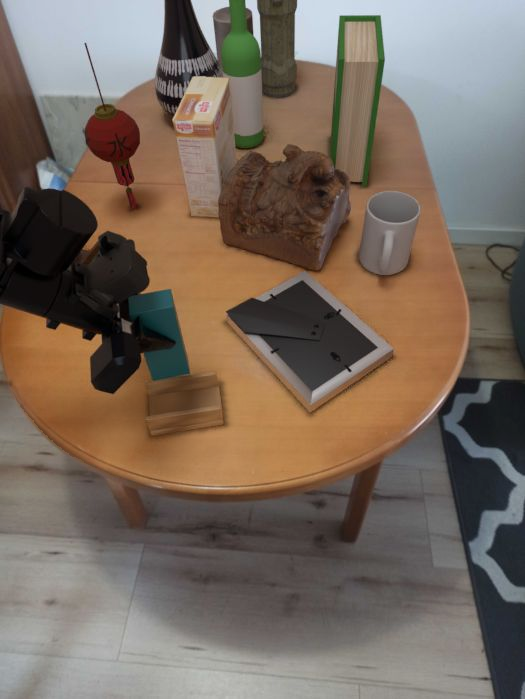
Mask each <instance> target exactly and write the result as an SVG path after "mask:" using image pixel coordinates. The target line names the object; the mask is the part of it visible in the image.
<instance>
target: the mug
mask: <svg viewBox="0 0 525 699" xmlns="http://www.w3.org/2000/svg"><path fill="white" fill-rule="evenodd" d="M420 216H421V205H420V203H419V201H417V199H416V198H415V197H413V196H411V194H408V193H406V192H403V191H402V192H401V191H399V190H397V191H396V190H384V191H381V192H377V193H375V194H373V195H372V196H370V198H369V199H368V200H367V203H366V205H365V211H364V218H363V224H362V232H361V239H360V243H359V244H360V245H359V250H358V260H359V263H360V264H361V266H362V267H363V268H364V269H365V270H366V271H368V272H371V273H372V274H375V275H380V276H392V275H395V274H398V273H400V272H402V271H403V270H404V269H405V268H406V267H407V266H408V263H409V260H410V255H411V252H412V246H413V243H414V239H415V235H416V231H417V227H418V224H419V220H420Z"/></svg>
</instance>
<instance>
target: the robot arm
mask: <svg viewBox="0 0 525 699" xmlns="http://www.w3.org/2000/svg"><path fill="white" fill-rule="evenodd" d="M98 226H99V224H98V219H97V216H96V215H95V213H94V212H93V210H92V209H91V208H90V206H88V204H86V202H84V201H83V200H82V199H80V198H79V197H78V196H76V195H75V194H73V193H71V192H70V191H67V190H65V189H61V190H60V189H56V188H49V187H48V188H43V189H41V190H39V191H38V190H35V189H34V188H32V187H29V186H24V187H23V188H22V191H21V192H20V193H19V196H18V199H17V203H16V205H15V207H14V209H13V210H12V212H11V211H9V210H7V209H6V210H5V209H4V210H3V209H2V210H0V305H2V306H6V307H8V308H11V309H14V310H17V311H21V312H23V313H27V314H30V315H33V316H37V317H39V318H43V319H45V327H46V329H50V330H54V331H56V330H57V329H58V327H59V326H60V325H61V324H62V325H65V326H67V327H70V328H74V329H77V330H80V331H81V334H82V335H81V337H82V339H83V340H86V341H90V342H92V341H93V339H95V337H96V336H97V335H98V336H100V338H101V344H100V345H99V346H98V348H96V350H95V351H94V352H93V353H92V354H91V355H90V356H89V365H90V366H89V368H90V369H89V370H90V383H91V385H92V387H93V388H94V390H96V391H99V392H101V393H106V394H109V395H114V394H116V392H117V391H118V390H119V389H120V388H121V387H122V386H123V385H124V384H126V382H127V381H128V380H129V379H130V378H131V377H132V376H133V375H134V374H135V372H137V371H138V370H139V369H140V367H141V364H142V354H143V353H146V352H153V351H159V350H165V349H171V348H173V347H174V346H175V345H176V341H174V340H172V339H171V338H169V337H167V336H164V335H162V334H160V333H157V332H155V331H153V330H150V329H148V328H145V327H144V326H143V324H142V321H141V318H140V316H138V317H137V318H136V319H135V320H134V321H133V322H132V321H131V318H130V315H129V303H128V298H129V297H131V296H133V295H139V294H142V293H143V292H144V291H146V290H147V288H148V287H149V285H150V282H151V280H150V276H149V272H148V267H147V266H148V261H147V260H146V259H145V257H143V255H141V254H140V253H139V252H138V251H137V249H136V243H135V240H133V239H132V238H129V239H127V238H126V237H125V236H123V235H122V234H119V233H116V232H114V231H110V230H106V231H105V232H103V233H101V234H100V235H98V236H97V241H98V245H99V252H98V253H97V254H96V255H95V257H94V258H93V260H92V261H91V262H90V263H89V265H84V264H81V263H79V262H76V263H73V261H74V260H75V258H76V257H77V256H78V254H79V253H80V251H81V250H82V249H84V248H85V246H86V245H87V244H88V242H89V241H90V239H91V238H92V237H93V235H94V233H95V232H96V231H97V229H98Z"/></svg>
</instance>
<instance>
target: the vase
mask: <svg viewBox="0 0 525 699" xmlns="http://www.w3.org/2000/svg"><path fill="white" fill-rule="evenodd" d="M163 1H164V4H163V5H164V6H163V8H164V16H163V18H164V19H163V33H162V39H161V40H162V41H161V46H160V51H159V56H158V61H157V66H156V70H155V74H154V75H155V76H154V90H155V97H156V99H157V102H158V103H159V105H160V107H161V109H162V110H163V111H164V112H165V113H166V114H167V115H168V116H169V117H171V118H172V119H173V118H174V115H175V113H176V111H177V109H178V107H179V105H180V102H181V100H182V98H183V96H184V94H185V92H186V90H187V88H188V85H189V83H190V81H191V79H192V77H194V76H206V77H222V78H223V71H222V68H221V66H220V64H219V63H218V60H217V56H216V55H215V54H214V52H213V50H212V48H211V46H210V45H209V43H208V41H207V38H206V37H205V34H204V32H203V30H202V28H201V26H200V23H199V20H198V17H197V15H196V12H195V8H194V6H193V2H192V0H163Z"/></svg>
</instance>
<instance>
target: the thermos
mask: <svg viewBox="0 0 525 699" xmlns="http://www.w3.org/2000/svg"><path fill="white" fill-rule="evenodd" d="M256 8H257V12H258V15H259V30H260V32H259V33H260V34H259V35H260V53H261V74H262V95H264V96H267V97H269V98H275V99H276V98H278V99H279V98H285V97H289V96H291V95H293V94H294V93H295V92H296V89H297V86H296V85H297V84H296V81H297V78H298V77H297V74H298V68H297V67H298V65H297V62H296V59H295V58H296V56H295V52H296V51H295V49H296V46H295V45H296V44H295V43H296V12H297V8H298V0H256Z"/></svg>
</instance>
